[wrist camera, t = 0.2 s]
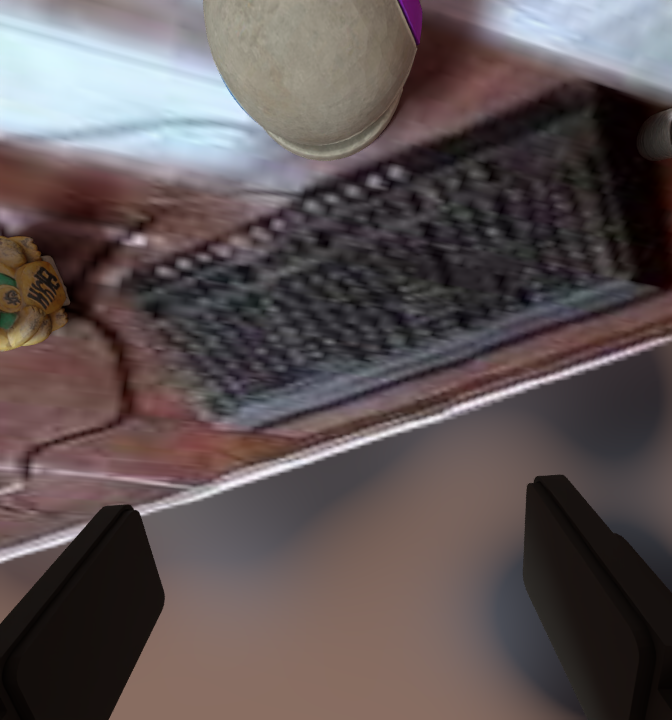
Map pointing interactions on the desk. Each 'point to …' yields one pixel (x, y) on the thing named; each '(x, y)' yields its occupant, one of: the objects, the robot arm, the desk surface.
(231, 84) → the webcam
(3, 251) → the decorative figurine
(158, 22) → the desk surface
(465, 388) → the desk surface
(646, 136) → the light bulb
